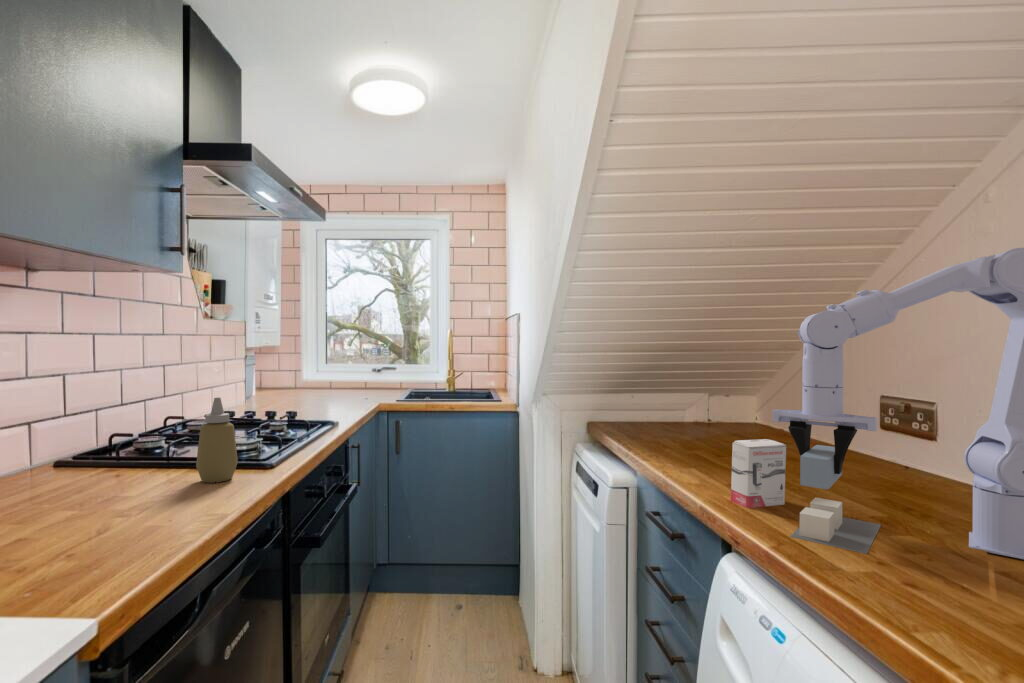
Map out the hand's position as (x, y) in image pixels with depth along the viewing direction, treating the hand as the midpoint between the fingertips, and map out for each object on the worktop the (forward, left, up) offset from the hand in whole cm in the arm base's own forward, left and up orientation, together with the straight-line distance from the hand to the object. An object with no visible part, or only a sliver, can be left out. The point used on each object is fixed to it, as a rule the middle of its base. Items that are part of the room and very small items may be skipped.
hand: (822, 470), depth 85 cm
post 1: (0, -3, -10) cm, 10 cm away
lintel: (0, 0, -2) cm, 2 cm away
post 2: (0, +4, -10) cm, 10 cm away
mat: (-2, -1, -10) cm, 10 cm away
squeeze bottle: (+106, +53, -10) cm, 119 cm away
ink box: (+12, -8, -10) cm, 18 cm away
